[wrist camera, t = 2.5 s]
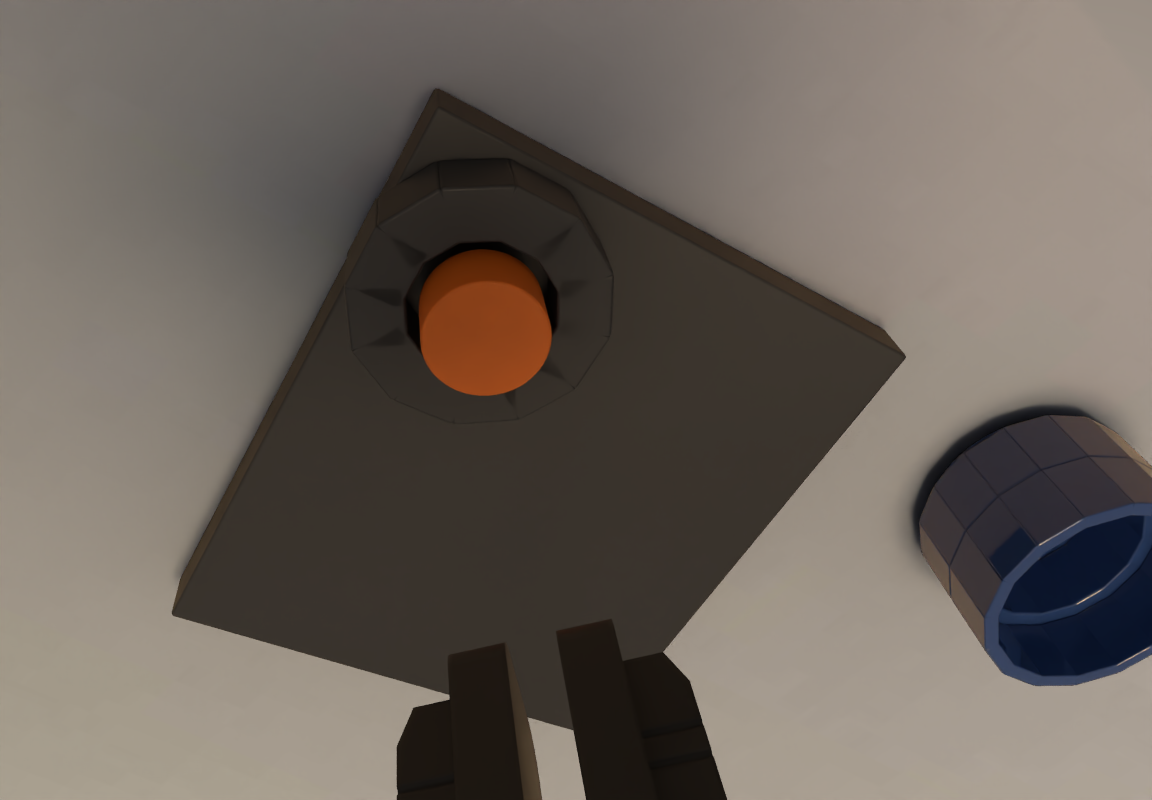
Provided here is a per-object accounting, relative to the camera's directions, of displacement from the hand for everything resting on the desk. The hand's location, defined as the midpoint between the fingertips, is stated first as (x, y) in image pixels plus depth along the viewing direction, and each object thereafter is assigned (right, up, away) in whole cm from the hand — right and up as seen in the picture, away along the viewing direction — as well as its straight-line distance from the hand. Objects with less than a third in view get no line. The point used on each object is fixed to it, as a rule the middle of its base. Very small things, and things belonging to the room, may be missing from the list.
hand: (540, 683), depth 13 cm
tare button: (-2, +6, +9) cm, 10 cm away
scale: (-1, +2, +14) cm, 14 cm away
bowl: (+14, +1, +18) cm, 22 cm away
